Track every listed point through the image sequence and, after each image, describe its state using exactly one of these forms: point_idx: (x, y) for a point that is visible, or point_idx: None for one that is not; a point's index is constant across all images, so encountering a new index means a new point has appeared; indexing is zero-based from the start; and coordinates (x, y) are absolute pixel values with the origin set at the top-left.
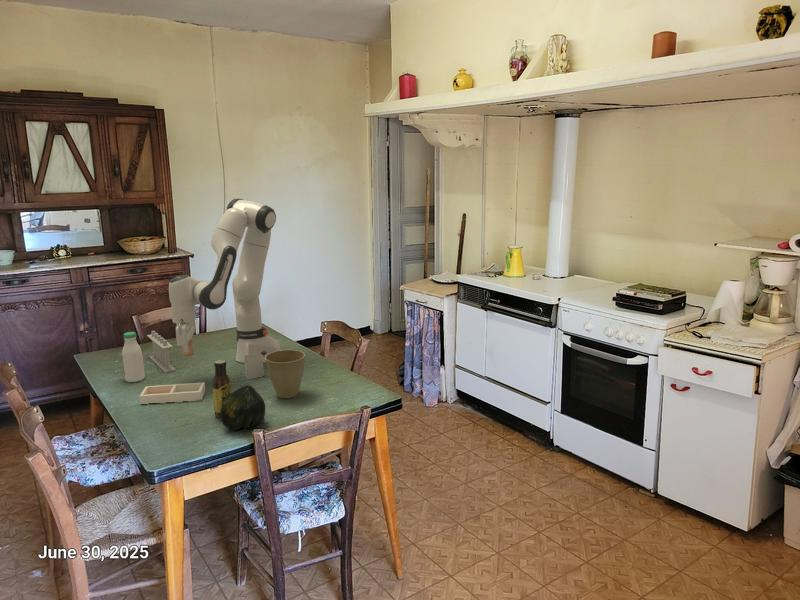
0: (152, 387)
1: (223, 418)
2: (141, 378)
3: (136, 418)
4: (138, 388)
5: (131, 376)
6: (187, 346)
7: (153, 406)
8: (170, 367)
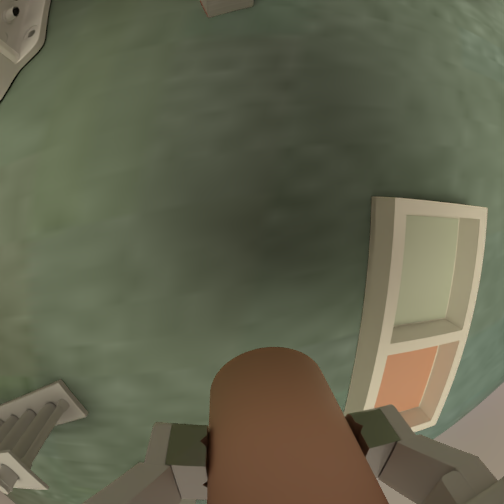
0: None
1: None
2: None
3: (490, 371)
4: None
5: (195, 501)
6: (445, 448)
7: None
8: (60, 403)
